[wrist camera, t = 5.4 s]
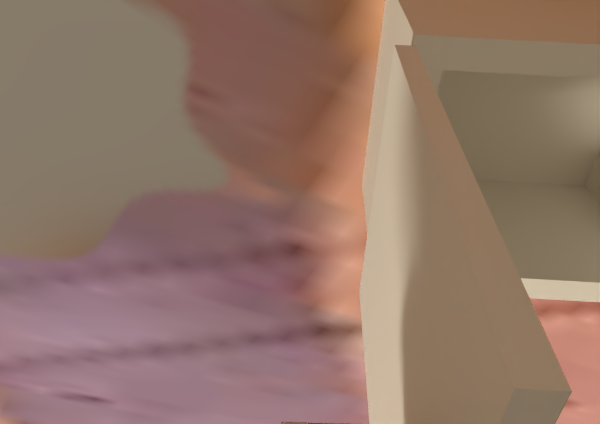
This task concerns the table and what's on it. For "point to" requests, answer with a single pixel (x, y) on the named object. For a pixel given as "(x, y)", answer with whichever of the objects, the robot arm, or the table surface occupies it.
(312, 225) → the table surface
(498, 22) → the carton
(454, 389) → the lid flap
